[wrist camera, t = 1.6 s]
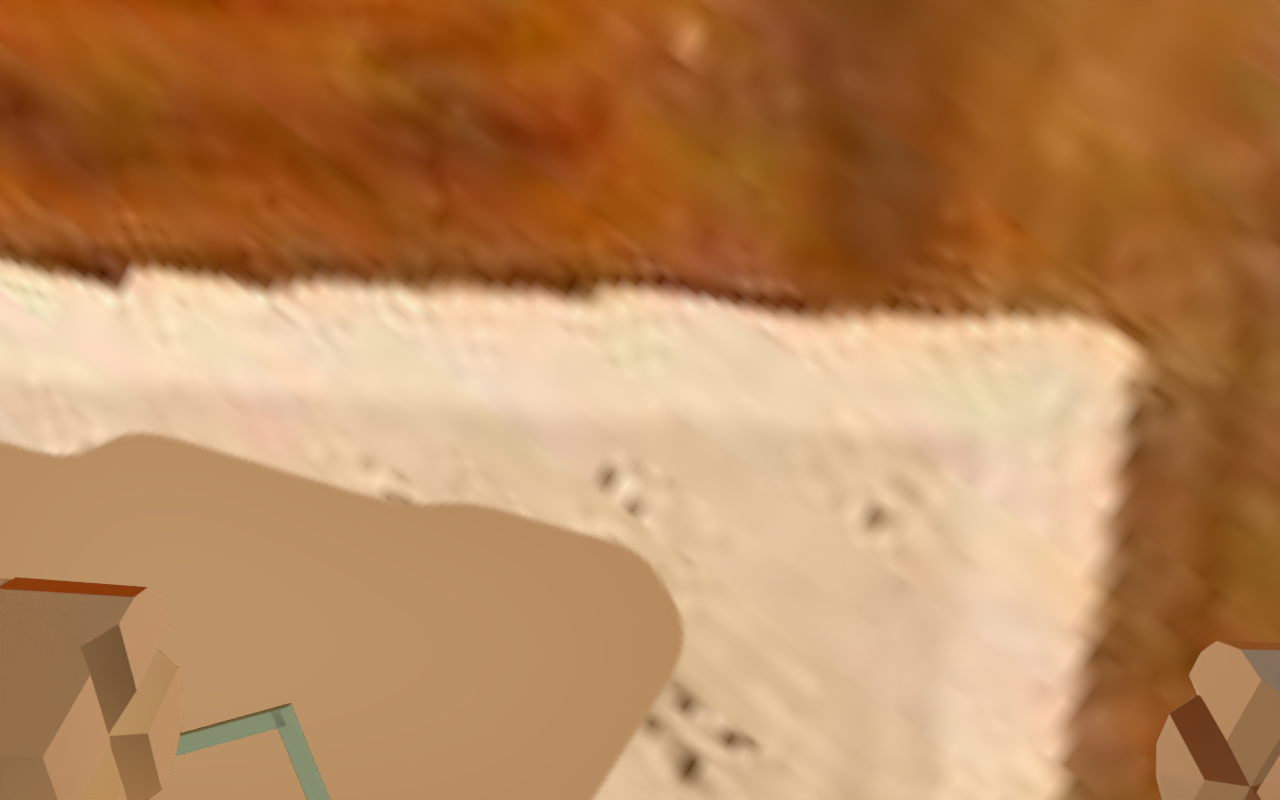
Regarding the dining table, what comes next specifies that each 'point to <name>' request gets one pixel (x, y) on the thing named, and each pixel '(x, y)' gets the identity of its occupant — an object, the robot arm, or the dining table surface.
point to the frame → (260, 723)
